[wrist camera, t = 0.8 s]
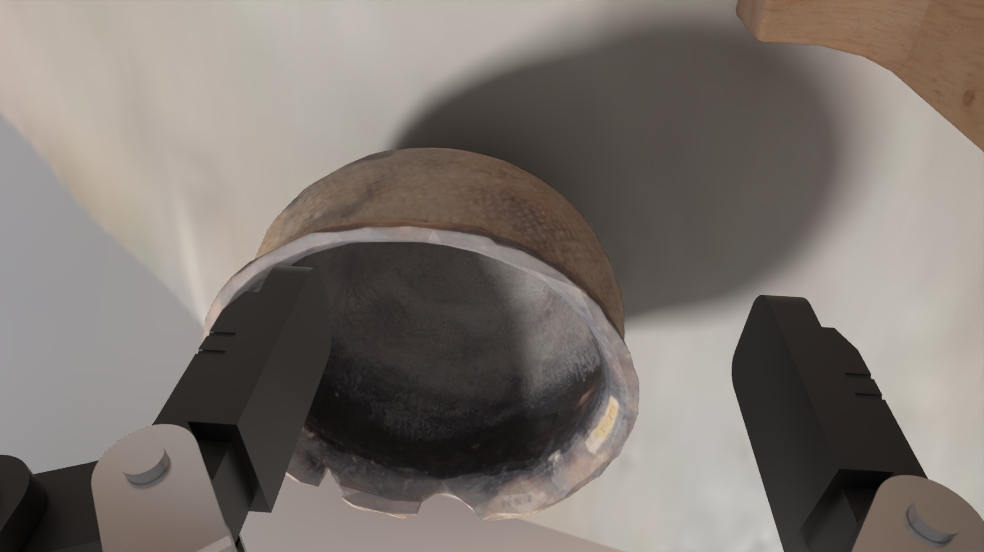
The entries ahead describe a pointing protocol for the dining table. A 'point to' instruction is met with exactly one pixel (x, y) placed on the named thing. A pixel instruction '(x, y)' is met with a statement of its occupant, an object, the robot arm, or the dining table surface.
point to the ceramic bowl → (454, 335)
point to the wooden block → (893, 44)
